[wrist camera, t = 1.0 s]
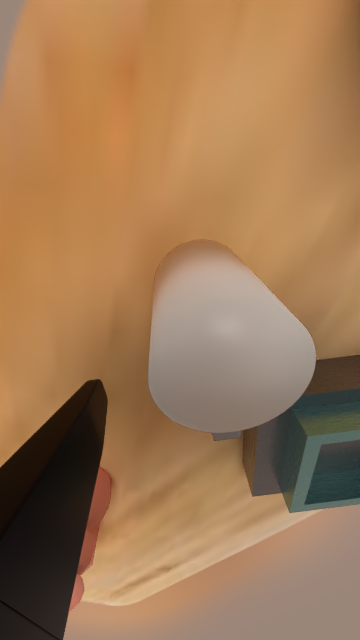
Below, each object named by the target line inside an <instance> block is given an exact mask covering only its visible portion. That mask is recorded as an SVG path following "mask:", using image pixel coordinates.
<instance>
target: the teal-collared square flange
mask: <svg viewBox="0 0 360 640" xmlns="http://www.w3.org/2000/svg"><path fill="white" fill-rule="evenodd" d="M243 465H244V469H245V472H246V476H247V479H248V483H249V486H250V490H251V493H252V497H253V496H261V495H269V494H277V493H282V494H283V497H284V500H285V502H286V505H287V508H288V510H289V513H293V512H301V511H309V510H317V509H325V508H333V507H341V506H349V505H356V504H360V355H357V356H349V357H341V358H332V359H324V360H316V364H315V370H314V373H313V377H312V379H311V381H310V383H309V385H308V387H307V388H306V390H305V391H304V393H303V394H302V395H301V396H300V398H299V399H298V400H297V401H296V402H295V403H294V404H293V405H292V406H291V407H289V408H288V409H287V410H286V411H284V412H283V413H281V414H280V415H278V416H277V417H275V418H273V419H271V420H270V421H268V422H265V423H263V424H261V425H258V426H255V427H252V428H249V429H245V430H244V443H243Z"/></svg>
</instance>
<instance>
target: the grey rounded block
mask: <svg viewBox="0 0 360 640" xmlns="http://www.w3.org/2000/svg"><path fill="white" fill-rule="evenodd" d="M315 364H316V350H315V346H314V342H313V340H312V337H311V335H310V333H309V332H308V331H307V329H306V328H305V326H304V325H303V324H302V323H301V322H300V321H299V320H298V319H297V318H296V317H295V316H294V315H293V314H292V313H291V312H290V311H289V310H288V309H287V308H286V307H285V305H284V304H283V303H282V302H281V301H280V300H279V299H278V298H277V297H276V296H275V295H274V294H273V293H272V292H271V291H270V290H269V289H268V288H267V287H266V286H265V285H264V284H263V282H262V281H261V280H260V279H259V278H258V277H257V276H256V275H255V274H254V273H253V272H252V271H251V270H250V269H249V268H248V267H247V266H246V265H245V264H244V263H243V262H242V260H241V259H240V258H239V257H238V256H237V255H236V254H235V253H234V252H233V251H232V250H231V249H229V248H228V247H227V246H225V245H223V244H221V243H218V242H216V241H211V240H194V241H189V242H186V243H183V244H181V245H179V246H177V247H176V248H174V249H173V250H172V251H170V252H169V253H168V254H167V255H166V256H165V257H164V259H163V260H162V261H161V263H160V265H159V267H158V269H157V271H156V274H155V279H154V292H153V308H152V323H151V338H150V353H149V368H148V385H149V390H150V393H151V396H152V398H153V400H154V402H155V404H156V405H157V407H158V408H159V409H160V410H161V411H162V412H163V413H164V414H165V415H166V416H167V417H168V418H170V419H171V420H172V421H174V422H176V423H178V424H180V425H182V426H184V427H187V428H190V429H193V430H197V431H203V432H211V433H213V438H214V441H218V440H226V439H233V438H241V430H245V429H249V428H252V427H255V426H258V425H261V424H263V423H265V422H268V421H270V420H271V419H273V418H275V417H277V416H278V415H280V414H281V413H283V412H284V411H286V410H287V409H288V408H289V407H291V406H292V405H293V404H294V403H295V402H296V401H297V400H298V399H299V398H300V396H301V395H302V394H303V393H304V391H305V390H306V388H307V387H308V385H309V383H310V381H311V379H312V377H313V373H314V370H315Z"/></svg>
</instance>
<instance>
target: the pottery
mask: <svg viewBox="0 0 360 640" xmlns="http://www.w3.org/2000/svg"><path fill="white" fill-rule="evenodd" d="M110 497H111V486H110V477H109V475H108V473H107V472H106V471H105V470H104V469H102V468H100V467H99V470H98V475H97V480H96V484H95V489H94V494H93V499H92V503H91V508H90V513H89V518H88V523H87V527H86V532H85V537H84V542H83V546H82V551H81V556H80V561H79V565H78V570H77V575H76V580H75V584H74V589H73V594H72V599H71V603H70V608H69V612H70V611H71V610H72V609H73V608H74V607H75V606H76V605H77V604H78V603H79V602H80V600H81V598H82V595H83V593H84V584H83V580H82V577H81V576H80V575H82V574H83V573H84V572H85V571H86V570H87V569H88V568H89V567H90V566H91V565H92V564H93V558H94V553H95V547H96V541H97V536H98V530H99V524H100V521H101V520H102V518H103V517H104V515H105V513H106V511H107V509H108V506H109V503H110Z"/></svg>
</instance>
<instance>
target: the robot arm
mask: <svg viewBox="0 0 360 640" xmlns="http://www.w3.org/2000/svg"><path fill="white" fill-rule="evenodd" d="M107 404H108V400H107V395H106V392H105V389H104V386H103V383H102V381H101V380H100V379H95V380H89V381H87V382H86V383H85V384H84V385H83V386H82V387H81V388H80V389H79V390H78V391H77V392H76V393H75V394H74V395H73V396H72V397H71V398H70V399H69V400H68V401H67V402H66V403H65V404H64V405H63V406H62V407H61V408H60V409H59V410H58V411H57V412H56V413H55V414H54V415H53V416H52V417H51V418H50V419H49V420H48V421H47V422H46V423H45V424H44V425H43V426H42V427H41V428H40V429H38V430H37V431H36V432H35V433H34V434H33V435H32V436H31V437H30V438H29V439H28V440H27V441H26V442H25V443H24V444H23V445H22V446H21V447H20V448H19V449H18V450H17V451H16V452H15V453H14V454H13V455H12V456H11V457H10V458H9V459H8V460H7V461H6V462H5V463H4V464H3V465H2V466H1V467H0V640H63V637H64V632H65V627H66V622H67V618H68V613H69V608H70V603H71V599H72V594H73V589H74V584H75V580H76V575H77V570H78V565H79V561H80V556H81V551H82V546H83V542H84V537H85V532H86V527H87V523H88V518H89V513H90V508H91V503H92V499H93V494H94V489H95V484H96V480H97V475H98V470H99V465H100V461H101V456H102V451H103V444H104V435H105V425H106V414H107Z"/></svg>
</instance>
